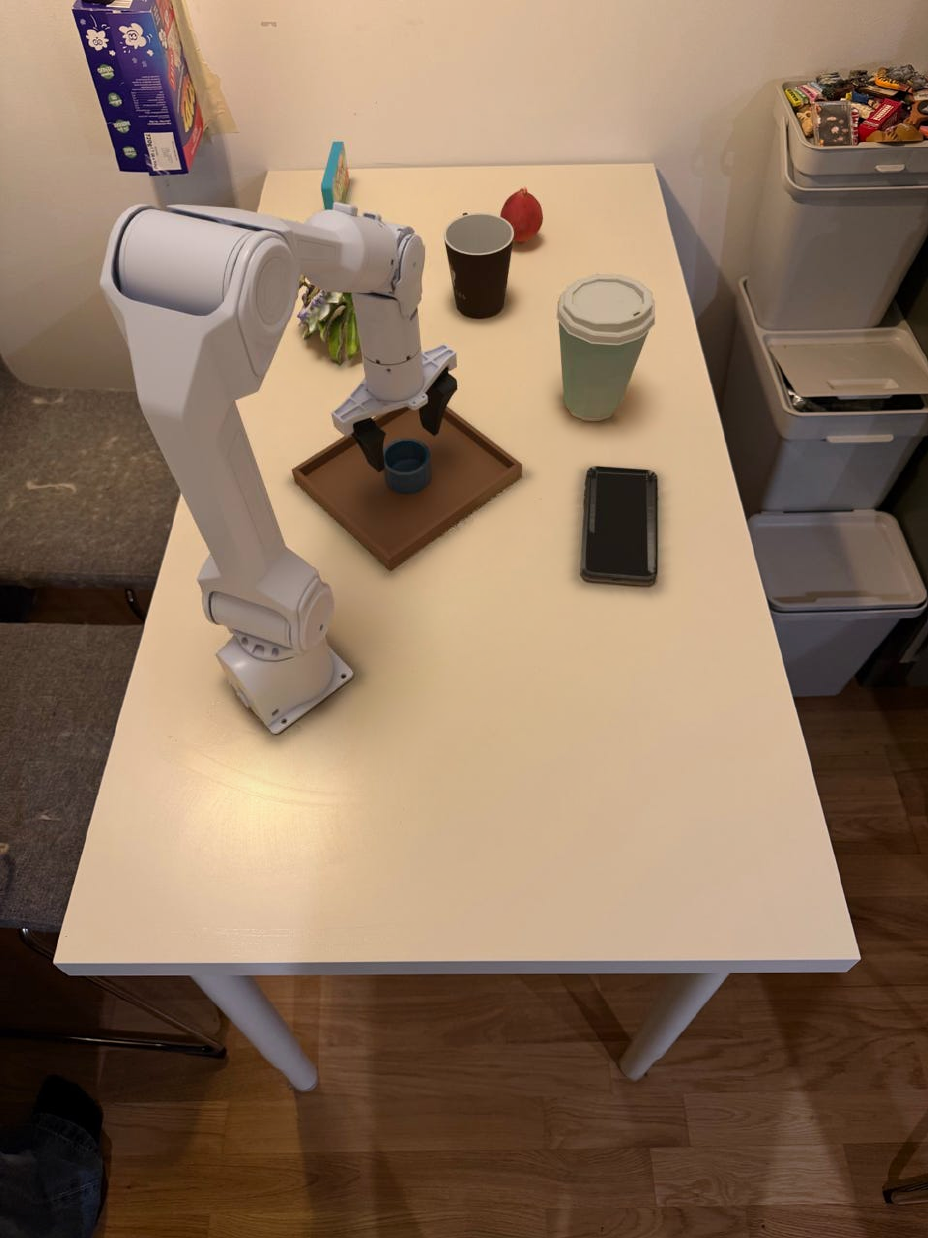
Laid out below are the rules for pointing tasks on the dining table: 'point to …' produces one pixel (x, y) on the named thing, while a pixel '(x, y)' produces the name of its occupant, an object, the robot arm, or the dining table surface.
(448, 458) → the tray
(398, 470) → the dish
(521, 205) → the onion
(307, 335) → the passion flower
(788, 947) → the dining table surface
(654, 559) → the phone
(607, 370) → the disposable coffee cup
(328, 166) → the teal picture box
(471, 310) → the coffee mug
